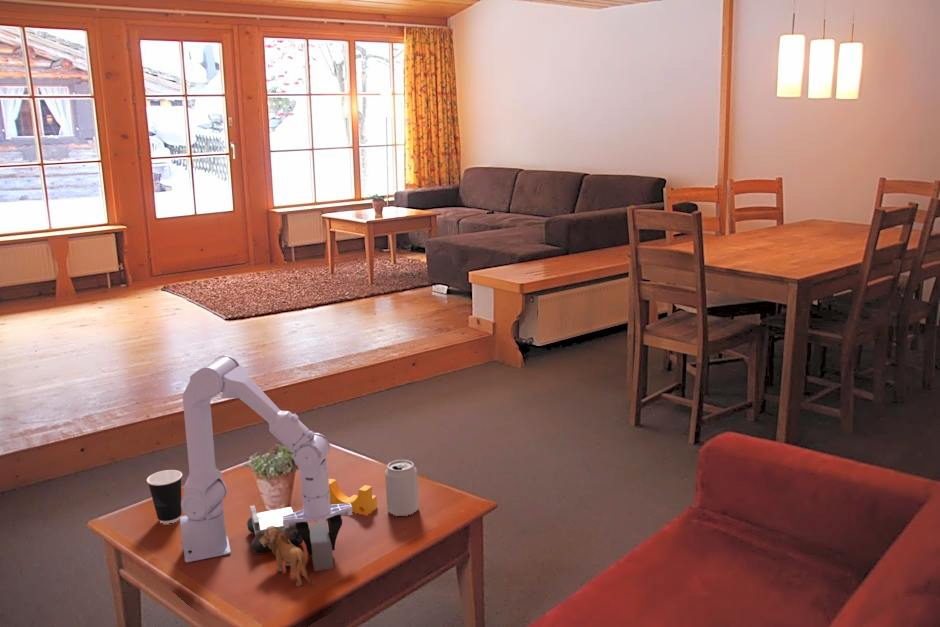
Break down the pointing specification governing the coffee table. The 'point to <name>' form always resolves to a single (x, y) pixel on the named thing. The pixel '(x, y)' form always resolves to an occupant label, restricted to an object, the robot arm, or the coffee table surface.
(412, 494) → the can
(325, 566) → the block
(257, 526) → the trolley
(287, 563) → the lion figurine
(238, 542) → the coffee table surface
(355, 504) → the pipe clamp
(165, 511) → the dixie cup
